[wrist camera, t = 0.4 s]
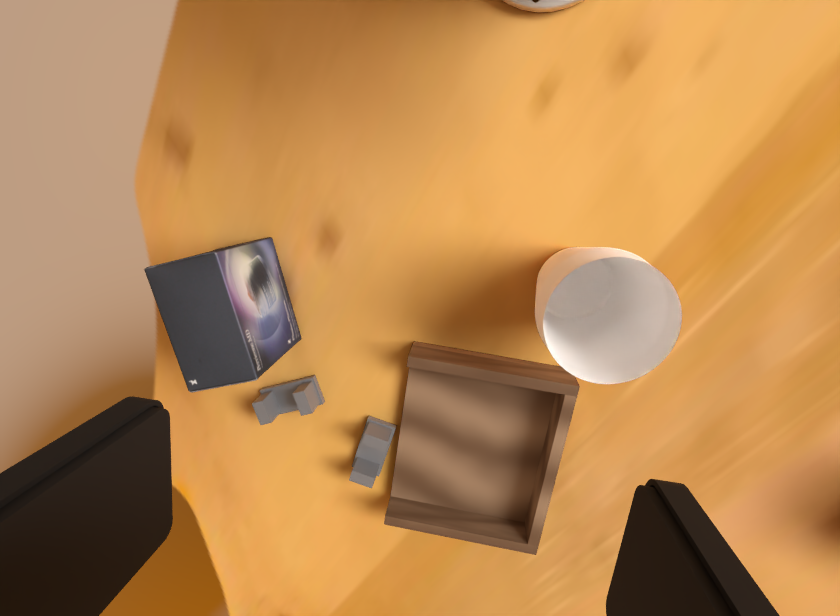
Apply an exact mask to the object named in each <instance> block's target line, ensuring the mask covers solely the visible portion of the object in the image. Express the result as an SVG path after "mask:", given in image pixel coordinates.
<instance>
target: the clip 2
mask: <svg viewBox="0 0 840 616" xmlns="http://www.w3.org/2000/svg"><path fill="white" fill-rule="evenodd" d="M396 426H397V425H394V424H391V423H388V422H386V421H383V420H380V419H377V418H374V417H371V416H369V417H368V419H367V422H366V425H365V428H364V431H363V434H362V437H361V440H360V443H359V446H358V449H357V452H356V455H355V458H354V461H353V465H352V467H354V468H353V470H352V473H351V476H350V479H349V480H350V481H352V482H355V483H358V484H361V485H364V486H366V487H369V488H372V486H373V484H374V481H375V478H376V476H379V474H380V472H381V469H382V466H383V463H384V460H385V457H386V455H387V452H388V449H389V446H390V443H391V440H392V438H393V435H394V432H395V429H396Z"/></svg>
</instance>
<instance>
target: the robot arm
mask: <svg viewBox="0 0 840 616" xmlns="http://www.w3.org/2000/svg"><path fill="white" fill-rule="evenodd" d="M503 1H504V2H506V3H507V4H509V5H512V6H514V7H516V8H519V9H521V10H526V11H532V12H553V11H557V10H561V9H565V8H569V7H571V6H573V5H575V4H577V3H579V2H582V1H584V0H538V2H536V3H535V2H533V1H532V0H503ZM172 519H173V516H172V480H171V443H170V415H169V412H168V410H166V409H164V408H163V405H162V403H161V402H160V401H158V400H151V399H145V398H139V397H127V398H125V399H123V400H122V401H120V402H118V403H117V404H115V405H113V406H112V407H110V408H108V409H107V410H105V411H103V412H102V413H100V414H98V415H97V416H95V417H93V418H92V419H90V420H88V421H87V422H85V423H83V424H82V425H80V426H78V427H77V428H75V429H73V430H72V431H70V432H68V433H67V434H65V435H63V436H62V437H60V438H58V439H57V440H55V441H53V442H52V443H50V444H49V445H47V446H45V447H43V448H42V449H40V450H38V451H37V452H35V453H33V454H32V455H30V456H29V457H27V458H25V459H23V460H22V461H20V462H18V463H17V464H15V465H14V466H12V467H10V468H8V469H7V470H5V471H3V472H2V473H1V474H0V616H99V615H100V614H101V613H102V611H103V610H104V609H105V608H106V607H107V606H108V604H109V603H110V602H111V601H112V600H113V599H114V598H115V596H117V594H118V593H119V592H120V591H121V590H122V589H123V587H124V586H125V585H126V584H127V583H128V582H129V581H130V580H131V578H132V577H133V576H134V575H135V574H136V573H137V572H138V570H139V569H140V568H141V567H142V566H143V565H144V563H145V562H146V561H147V560H148V559H149V558H150V557H151V556H152V554H153V553H154V552H155V551H156V550H157V549H158V547H159V546H160V545H161V544H162V543H163V542H164V541H165V539H166V538H167V536H168V534H169V532H170V530H171V526H172ZM606 614H607V616H779V614H778V613H777V612H776V610H775V609H774V607H773V606H772V605H771V603H770V602H769V600H768V599H767V598H766V596H765V595H764V594H763V592H762V591H761V589H760V588H759V587H758V585H757V584H756V582H755V581H754V580H753V578H752V577H751V575H750V574H749V573H748V571H747V570H746V569H745V567H744V566H743V564H742V563H741V562H740V560H739V559H738V557H737V556H736V555H735V553H734V552H733V550H732V549H731V548H730V546H729V545H728V544H727V542H726V541H725V539H724V538H723V537H722V535H721V534H720V532H719V531H718V530H717V528H716V527H715V525H714V524H713V523H712V521H711V520H710V519H709V517H708V516H707V514H706V513H705V512H704V510H703V509H702V507H701V506H700V505H699V503H698V502H697V500H696V499H695V498H694V496H693V495H692V494H691V492H690V491H689V489H688V488H687V487H686V486H685V485H684V484H681V483H674V482H668V481H662V480H656V479H650V480H648V482H647V483H646V485H645V486H643V485H639V486H638V487H637V488H636V491H635V494H634V497H633V501H632V505H631V509H630V513H629V516H628V520H627V524H626V528H625V531H624V535H623V539H622V543H621V546H620V550H619V554H618V558H617V562H616V565H615V569H614V573H613V577H612V580H611V584H610V588H609V592H608V595H607V600H606Z"/></svg>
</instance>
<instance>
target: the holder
mask: <svg viewBox="0 0 840 616" xmlns="http://www.w3.org/2000/svg"><path fill="white" fill-rule="evenodd" d="M407 367H409V373H408V380H407V387H406V394H405V400H404V407H403V414H402V421H401V428H400V435H399V442H398V448H397V455H396V462H395V469H394V476H393V483H392V490H391V496H390V500H389V504H388V508H387V511H386V515H385V521H384V524H385V525H390V526H395V527H400V528H405V529H410V530H415V531H420V532H425V533H430V534H435V535H440V536H445V537H450V538H455V539H460V540H465V541H470V542H475V543H479V544H484V545H489V546H494V547H499V548H504V549H509V550H514V551H519V552H524V553H529V554H534V555H536V553H537V549H538V545H539V542H540V538H541V534H542V530H543V526H544V522H545V518H546V514H547V511H548V507H549V503H550V499H551V495H552V491H553V487H554V484H555V480H556V476H557V472H558V468H559V464H560V460H561V456H562V453H563V449H564V445H565V441H566V437H567V433H568V429H569V426H570V422H571V418H572V414H573V410H574V406H575V402H576V398H577V395H578V391H579V387H580V386H579V384H578V382H577V380H576V378H575V376H574V375H572V374H570V373H569V372H567V371H566V370H565V369H564V368H562V367H560V366H554V365H548V364H542V363H537V362H531V361H525V360H519V359H513V358H508V357H502V356H496V355H490V354H485V353H479V352H473V351H467V350H461V349H456V348H450V347H444V346H438V345H433V344H427V343H421V342H415V341H414V342H413V345H412V348H411V350H410V353H409V356H408V362H407Z"/></svg>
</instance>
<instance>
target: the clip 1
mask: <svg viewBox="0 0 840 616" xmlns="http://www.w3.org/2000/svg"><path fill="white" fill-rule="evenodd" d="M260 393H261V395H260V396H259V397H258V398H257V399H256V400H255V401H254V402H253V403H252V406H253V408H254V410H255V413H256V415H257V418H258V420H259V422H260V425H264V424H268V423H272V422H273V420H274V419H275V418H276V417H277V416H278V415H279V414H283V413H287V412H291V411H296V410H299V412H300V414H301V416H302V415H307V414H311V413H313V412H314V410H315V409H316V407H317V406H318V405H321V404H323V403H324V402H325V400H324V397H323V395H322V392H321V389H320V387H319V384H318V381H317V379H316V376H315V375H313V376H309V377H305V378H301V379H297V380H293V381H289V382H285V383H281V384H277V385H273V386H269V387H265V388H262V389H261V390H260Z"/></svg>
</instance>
